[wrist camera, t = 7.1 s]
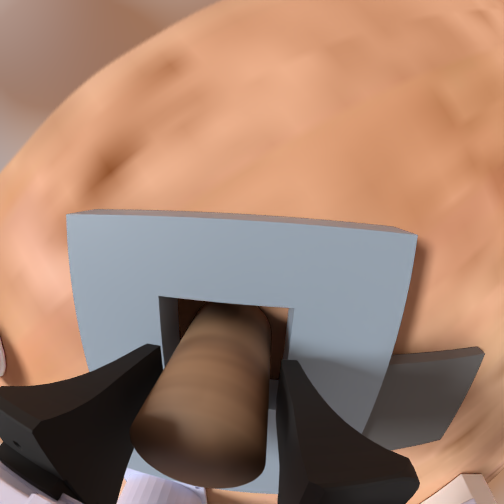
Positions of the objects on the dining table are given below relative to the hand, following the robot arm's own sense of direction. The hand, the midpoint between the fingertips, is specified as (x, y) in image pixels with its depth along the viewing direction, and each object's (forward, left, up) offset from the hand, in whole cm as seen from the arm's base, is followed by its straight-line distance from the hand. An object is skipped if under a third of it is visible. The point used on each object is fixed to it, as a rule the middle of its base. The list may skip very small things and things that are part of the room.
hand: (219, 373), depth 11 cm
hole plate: (-3, 0, -3) cm, 5 cm away
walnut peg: (0, 0, -4) cm, 4 cm away
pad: (-5, -12, -3) cm, 13 cm away
